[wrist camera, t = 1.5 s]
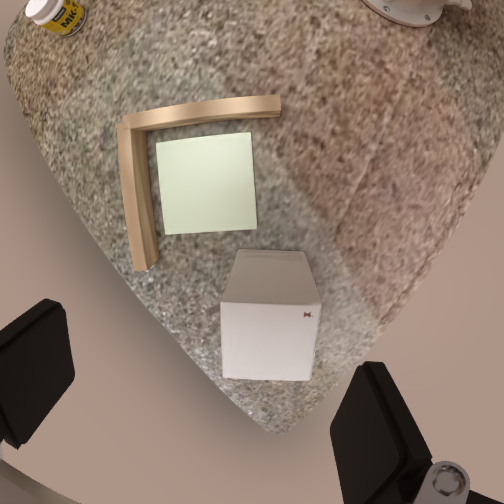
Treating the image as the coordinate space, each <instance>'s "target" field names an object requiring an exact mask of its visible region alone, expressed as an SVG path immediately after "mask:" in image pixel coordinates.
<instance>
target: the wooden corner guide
mask: <svg viewBox="0 0 504 504" xmlns="http://www.w3.org/2000/svg"><path fill="white" fill-rule="evenodd" d="M280 113H281V102H280V95H263V96H248V97H236V98H226V99H217V100H209V101H201V102H194V103H187V104H181V105H175V106H169V107H163V108H158V109H153V110H148V111H143V112H138V113H133V114H129V115H125V116H123V123H122V124H117V140H118V154H119V166H120V177H121V186H122V195H123V203H124V211H125V218H126V225H127V231H128V238H129V244H130V250H131V255H132V261H133V266H134V271H139V270H148V269H149V268H150V267H151V266H152V265H153V264H154V263H155V262H156V261H157V260H158V259H159V258H160V256H159V249H158V243H157V236H156V229H155V221H154V213H153V205H152V197H151V187H150V178H149V167H148V155H147V142H146V132H148V131H154V130H159V129H165V128H172V127H178V126H185V125H192V124H200V123H208V122H217V121H227V120H238V119H250V118H265V117H280Z"/></svg>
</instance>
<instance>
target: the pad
mask: <svg viewBox="0 0 504 504" xmlns="http://www.w3.org/2000/svg"><path fill="white" fill-rule="evenodd" d="M156 150H157V163H158V174H159V184H160V194H161V203H162V211H163V220H164V227H165V235H169V234H183V233H199V232H215V231H231V230H249V229H257V215H256V200H255V185H254V170H253V156H252V141H251V132H247V133H234V134H224V135H214V136H205V137H196V138H188V139H181V140H174V141H167V142H161V143H156Z"/></svg>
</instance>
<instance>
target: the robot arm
mask: <svg viewBox="0 0 504 504" xmlns="http://www.w3.org/2000/svg"><path fill="white" fill-rule="evenodd" d="M362 1H363V2H364V3H366V4H367V5H368V6H369V7H370V8H371V9H373V10H374V11H376V12H377V13H379V14H380V15H382V16H384V17H385V18H387V19H389V20H391V21H394V22H396V23H398V24H402V25H406V26H411V27H424V26H428V25H430V24H432V23H433V22H435V21H436V20H437V19H438V18H439V17H440V16H441V14H442V10H443V5H444V4H445V5H448V6H450V5H455V6H456V7H459V8H462V9H464V10H467V11H469V10H471V8H472V3H471V1H470V0H362ZM74 377H75V370H74V365H73V360H72V354H71V348H70V341H69V334H68V327H67V319H66V312H65V310H64V309H63V307H62V305H61V304H60V303H59V302H56V301H53V300H50V299H43V300H42V301H40V302H39V303H38V304H36V305H35V306H33V307H32V308H31V309H29V310H28V311H26V312H25V313H23V314H22V315H21V316H19V317H18V318H17V319H15V320H14V321H13V322H11V323H10V324H8V325H7V326H6V327H5V328H3V329H2V330H0V504H80V503H78V502H76V501H74V500H72V499H69V498H67V497H65V496H63V495H61V494H59V493H57V492H55V491H53V490H52V489H50V488H48V487H46V486H44V485H42V484H40V483H39V482H37V481H35V480H33V479H32V478H30V477H28V476H27V475H25V474H23V473H22V472H20V471H19V470H17V469H15V468H14V467H12V466H11V465H9V464H8V463H6V462H5V461H4V460H3V455H2V447H1V442H2V440H3V439H4V440H5V441H6V443H8V444H10V445H11V446H13V447H14V448H16V449H17V450H18V449H19V447H20V446H21V444H25V443H27V441H28V440H29V439H30V437H31V436H32V435H33V433H34V432H35V431H36V429H37V428H38V427H39V425H40V424H41V422H42V421H43V420H44V418H45V417H46V416H47V414H48V413H49V412H50V410H51V409H52V408H53V407H54V405H55V404H56V403H57V401H58V400H59V399H60V398H61V396H62V395H63V394H64V392H65V391H66V390H67V389H68V387H69V386H70V385H71V383H72V382H73V380H74ZM330 436H331V441H332V446H333V450H334V456H335V460H336V465H337V470H338V475H339V480H340V486H341V490H342V495H343V501H344V504H504V503H501V502H498V501H496V500H493V499H491V498H488V497H486V496H483V495H481V494H479V493H476V492H474V491H472V490H469V489H470V479H469V476H468V474H467V472H466V471H465V470H464V469H463V468H462V467H461V466H459V465H458V464H456V463H454V462H450V461H441V462H437V463H435V464H434V465H433V463H432V461H431V458H432V455H431V453H430V451H429V449H428V447H427V445H426V442H425V441H424V438H423V436H422V435H421V432H420V431H419V428H418V426H417V424H416V422H415V421H414V419H413V417H412V415H411V413H410V411H409V409H408V407H407V405H406V403H405V401H404V399H403V397H402V396H401V394H400V392H399V390H398V388H397V386H396V385H395V383H394V381H393V379H392V377H391V375H390V373H389V372H388V370H387V368H386V366H385V364H384V363H383V362H371V361H366V362H364V363H363V364H362V365H359V366H358V367H357V369H356V371H355V373H354V376H353V378H352V380H351V382H350V385H349V387H348V389H347V392H346V394H345V396H344V398H343V400H342V402H341V405H340V407H339V409H338V411H337V413H336V415H335V417H334V419H333V421H332V423H331V426H330Z"/></svg>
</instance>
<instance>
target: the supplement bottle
mask: <svg viewBox="0 0 504 504" xmlns="http://www.w3.org/2000/svg"><path fill="white" fill-rule="evenodd" d="M26 16H27V17H29V18H31V19H34V22H35V23H36V24H37V25H39V26H41V27H43V28H46V29H48V30H50V31H52V32H54V33H56V34H58V35H60V36H63V37H68V36H71V35H73V34H74V33H76V32H77V31H78V30H79V29H80V28H81V27H82V26H83V24H84V22H85V20H86V16H87V12H86V10H85V9H84V8H83V7H81V6H80V5H79V4H77V3H76V2H74V1H73V0H30V2H29V3H28V5H27V7H26Z"/></svg>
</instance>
